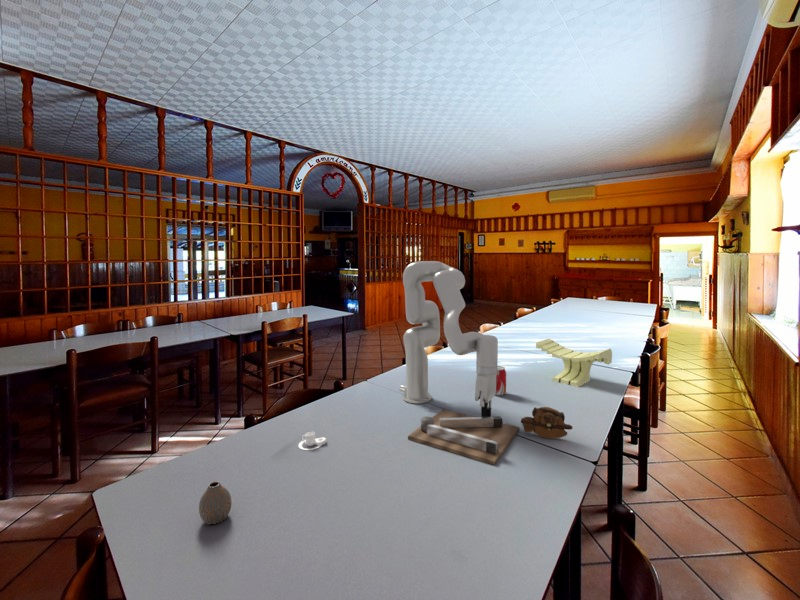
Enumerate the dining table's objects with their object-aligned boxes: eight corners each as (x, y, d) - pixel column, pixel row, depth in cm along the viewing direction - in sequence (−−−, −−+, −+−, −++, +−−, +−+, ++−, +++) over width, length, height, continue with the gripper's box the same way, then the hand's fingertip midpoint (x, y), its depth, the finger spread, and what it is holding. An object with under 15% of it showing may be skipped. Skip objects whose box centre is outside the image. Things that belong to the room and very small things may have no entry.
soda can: (506, 397, 161) (507, 370, 160) (490, 396, 162) (490, 369, 161) (505, 391, 168) (505, 365, 166) (489, 390, 169) (489, 365, 168)
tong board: (408, 439, 124) (408, 424, 124) (442, 412, 146) (442, 399, 145) (494, 465, 108) (494, 448, 107) (519, 430, 129) (519, 416, 129)
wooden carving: (520, 436, 125) (520, 408, 124) (520, 430, 129) (521, 403, 128) (573, 444, 120) (574, 414, 118) (571, 437, 124) (572, 409, 123)
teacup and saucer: (329, 441, 124) (329, 430, 124) (316, 453, 116) (316, 441, 116) (307, 438, 127) (306, 426, 126) (293, 449, 119) (292, 437, 119)
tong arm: (440, 428, 128) (440, 420, 128) (439, 425, 131) (439, 417, 130) (502, 426, 129) (502, 418, 129) (500, 424, 131) (500, 416, 131)
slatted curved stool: (610, 383, 176) (612, 347, 174) (597, 391, 166) (599, 353, 164) (550, 370, 198) (551, 337, 197) (535, 376, 188) (536, 342, 186)
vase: (207, 510, 90) (205, 476, 89) (236, 508, 91) (234, 474, 90) (194, 530, 83) (191, 494, 82) (225, 528, 84) (223, 492, 83)
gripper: (484, 362, 142) (483, 408, 144) (469, 373, 129) (468, 422, 131) (503, 365, 138) (502, 412, 140) (489, 376, 125) (488, 427, 127)
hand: (486, 417), depth 136 cm, fingers closed
